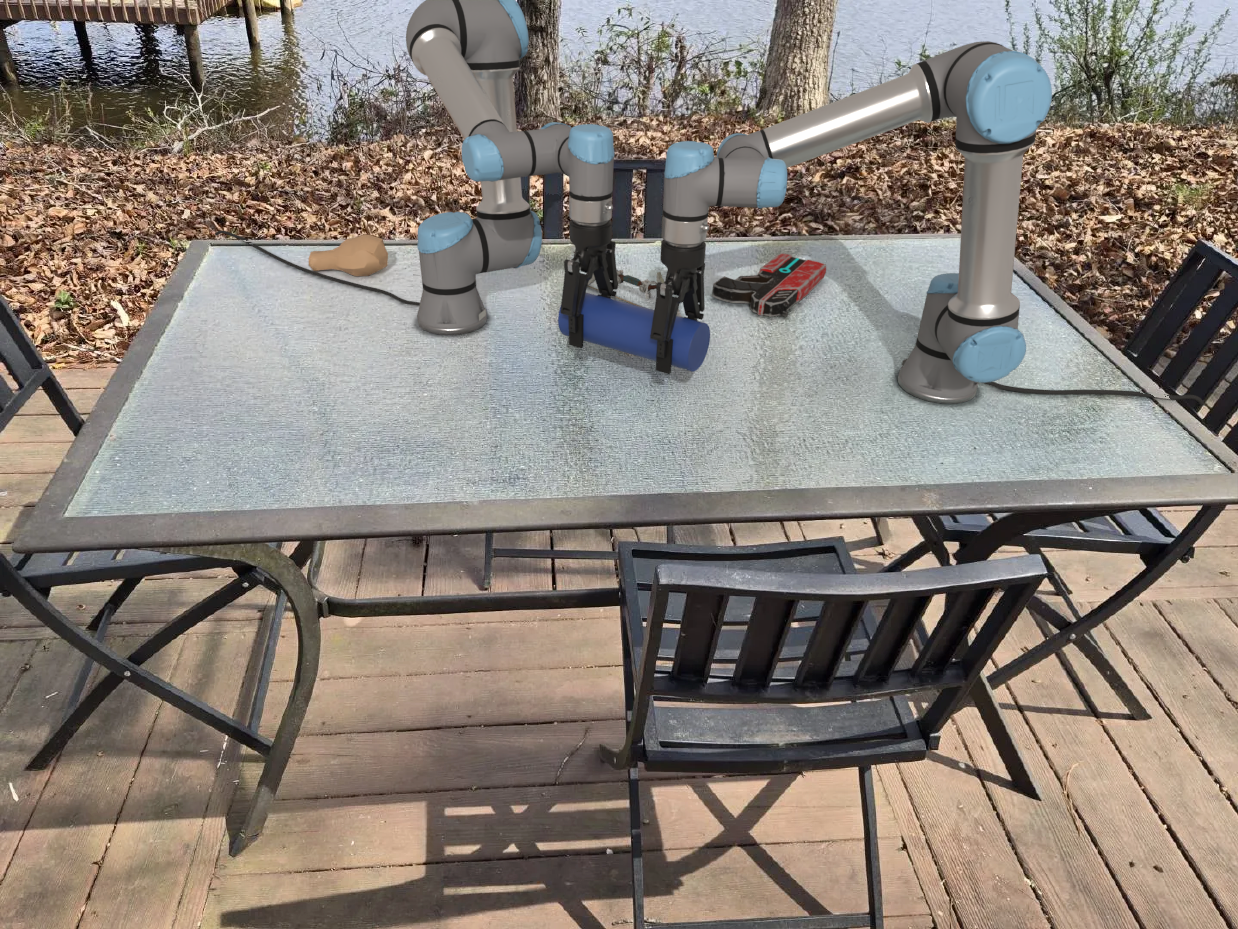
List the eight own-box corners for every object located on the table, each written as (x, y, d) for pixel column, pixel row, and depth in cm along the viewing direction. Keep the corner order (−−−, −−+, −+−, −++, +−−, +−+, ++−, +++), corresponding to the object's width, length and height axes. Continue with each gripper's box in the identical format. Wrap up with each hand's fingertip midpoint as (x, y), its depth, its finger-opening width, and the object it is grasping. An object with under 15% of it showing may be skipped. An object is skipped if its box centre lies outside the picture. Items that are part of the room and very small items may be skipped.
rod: (558, 342, 165) (557, 298, 160) (583, 325, 172) (583, 283, 167) (686, 379, 154) (689, 333, 149) (708, 360, 160) (712, 315, 156)
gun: (708, 284, 207) (784, 305, 199) (760, 245, 229) (831, 262, 221) (706, 302, 209) (781, 323, 201) (758, 261, 231) (828, 278, 223)
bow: (697, 327, 197) (701, 285, 192) (692, 329, 196) (696, 287, 191) (576, 279, 219) (576, 241, 213) (571, 281, 218) (571, 242, 212)
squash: (388, 280, 216) (377, 247, 210) (309, 287, 218) (296, 255, 212) (396, 257, 224) (386, 225, 218) (320, 264, 226) (308, 233, 219)
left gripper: (575, 241, 145) (575, 363, 157) (639, 207, 160) (635, 321, 173) (537, 232, 148) (541, 353, 160) (604, 200, 163) (602, 312, 176)
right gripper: (673, 264, 137) (665, 391, 150) (731, 226, 153) (720, 344, 165) (632, 254, 140) (628, 379, 153) (692, 218, 156) (684, 334, 168)
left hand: (589, 336), depth 166 cm, fingers closed on rod, 9 cm apart
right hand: (675, 361), depth 159 cm, fingers closed on rod, 9 cm apart
